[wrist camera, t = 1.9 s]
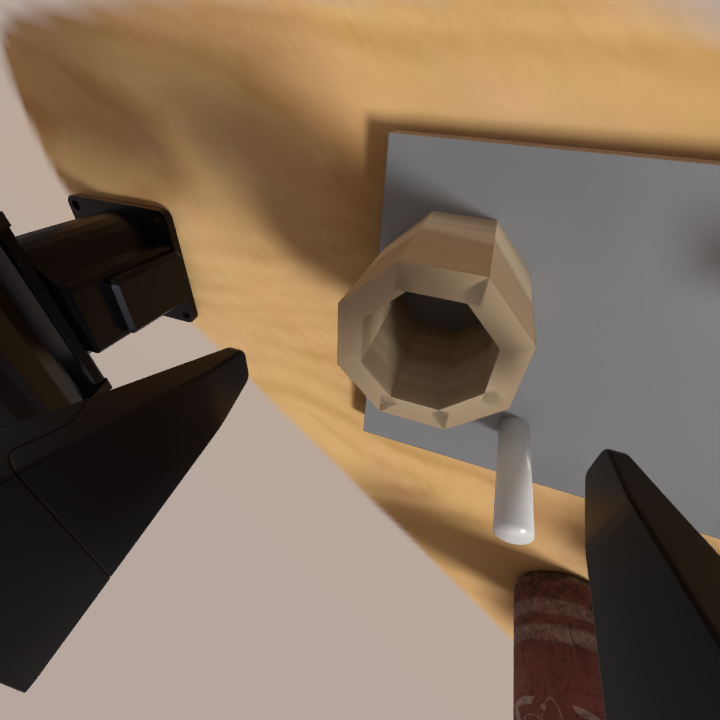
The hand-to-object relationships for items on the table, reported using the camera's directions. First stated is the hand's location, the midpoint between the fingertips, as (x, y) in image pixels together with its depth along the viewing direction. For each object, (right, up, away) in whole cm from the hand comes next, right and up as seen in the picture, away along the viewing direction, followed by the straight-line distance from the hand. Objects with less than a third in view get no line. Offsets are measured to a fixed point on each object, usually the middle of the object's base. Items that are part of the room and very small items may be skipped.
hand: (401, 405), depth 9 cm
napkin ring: (+2, +4, +5) cm, 7 cm away
